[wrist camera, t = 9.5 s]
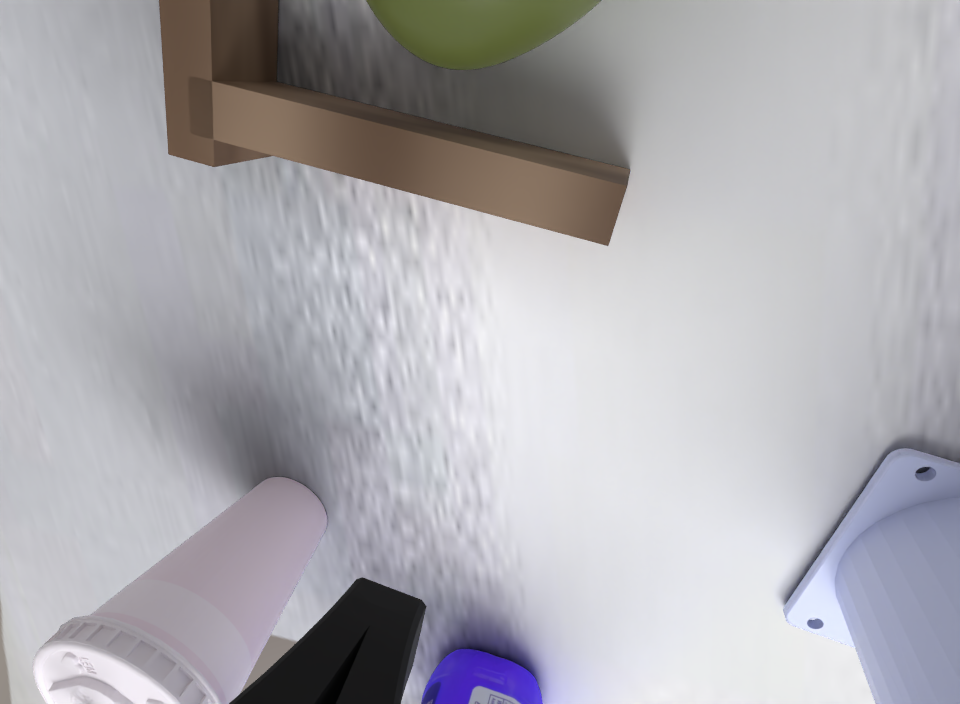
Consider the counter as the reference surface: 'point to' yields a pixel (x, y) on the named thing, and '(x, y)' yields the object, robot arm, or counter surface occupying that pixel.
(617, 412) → the counter surface
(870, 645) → the robot arm
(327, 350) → the counter surface
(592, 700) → the counter surface
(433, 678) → the bottle
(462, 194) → the walnut frame
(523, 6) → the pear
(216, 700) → the smoothie
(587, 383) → the counter surface
